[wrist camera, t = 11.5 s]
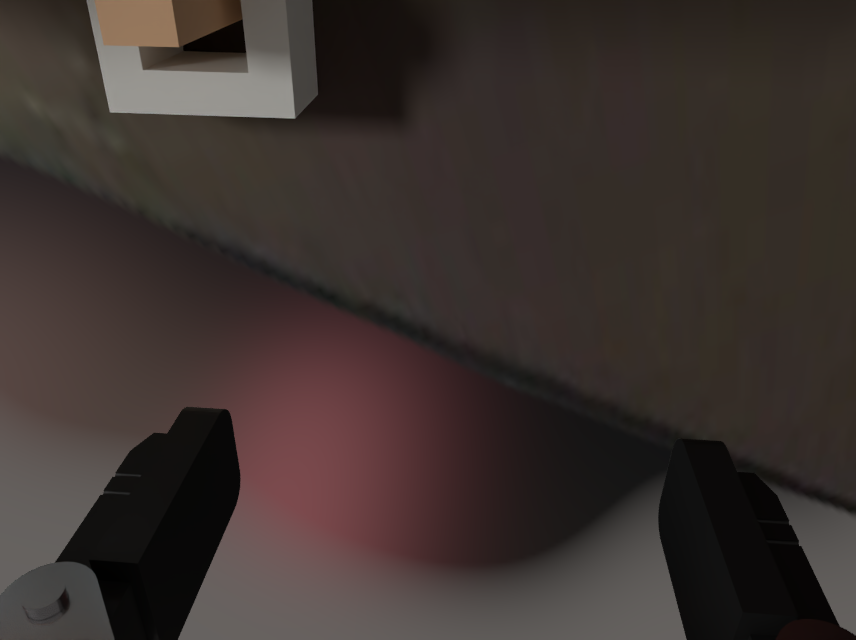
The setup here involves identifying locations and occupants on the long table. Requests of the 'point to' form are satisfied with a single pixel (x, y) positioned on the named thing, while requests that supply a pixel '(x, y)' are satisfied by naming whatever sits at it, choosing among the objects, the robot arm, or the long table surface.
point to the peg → (163, 20)
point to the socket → (220, 69)
